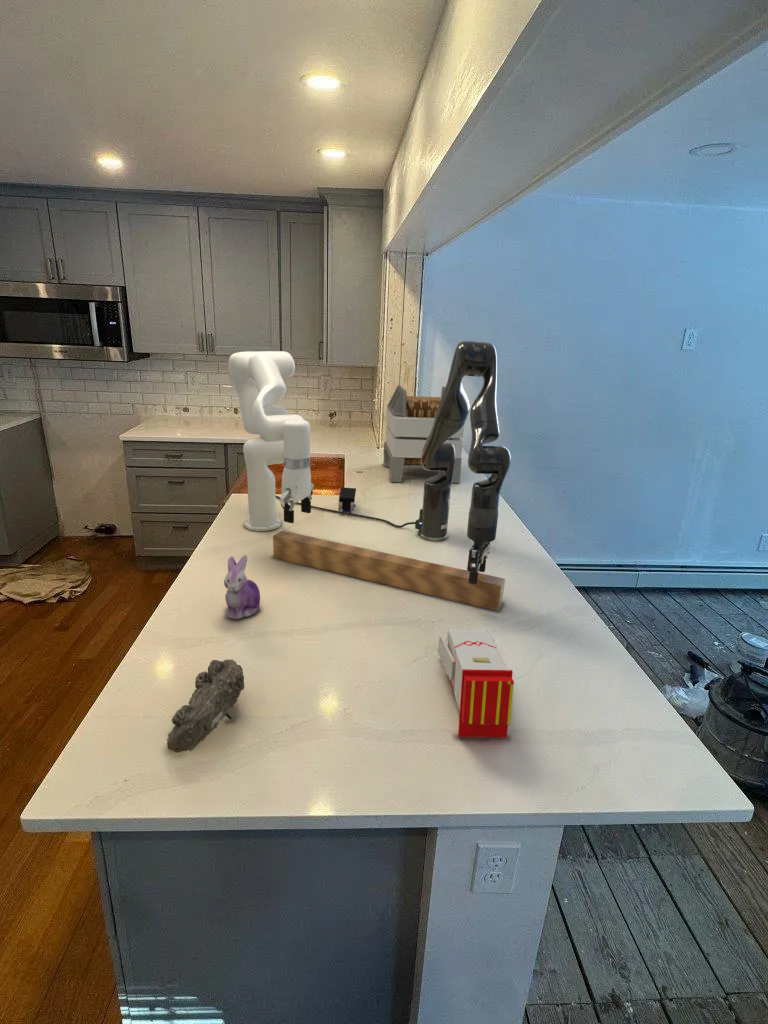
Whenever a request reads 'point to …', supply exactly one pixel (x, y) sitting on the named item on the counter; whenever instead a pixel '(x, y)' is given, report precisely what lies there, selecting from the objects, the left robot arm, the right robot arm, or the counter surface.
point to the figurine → (240, 591)
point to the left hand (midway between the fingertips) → (297, 517)
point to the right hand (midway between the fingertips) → (476, 577)
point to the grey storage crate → (413, 432)
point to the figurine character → (347, 500)
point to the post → (390, 569)
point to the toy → (478, 682)
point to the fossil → (206, 705)
